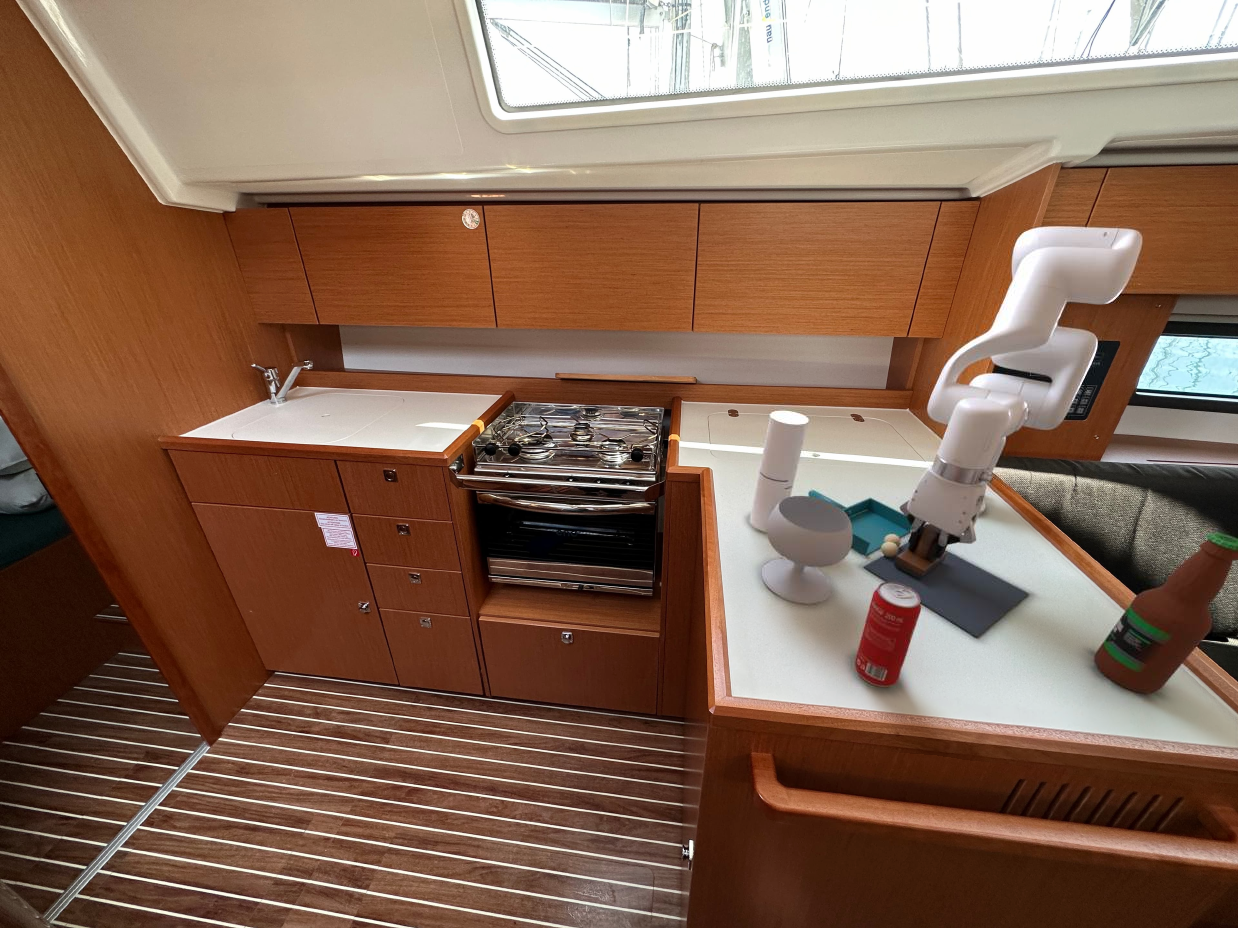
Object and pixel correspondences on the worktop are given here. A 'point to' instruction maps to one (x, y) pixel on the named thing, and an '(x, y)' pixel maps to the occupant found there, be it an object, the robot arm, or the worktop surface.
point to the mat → (955, 591)
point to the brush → (921, 554)
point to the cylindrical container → (778, 464)
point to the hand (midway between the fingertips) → (923, 552)
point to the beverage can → (887, 633)
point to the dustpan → (871, 523)
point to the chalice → (805, 547)
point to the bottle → (1167, 620)
